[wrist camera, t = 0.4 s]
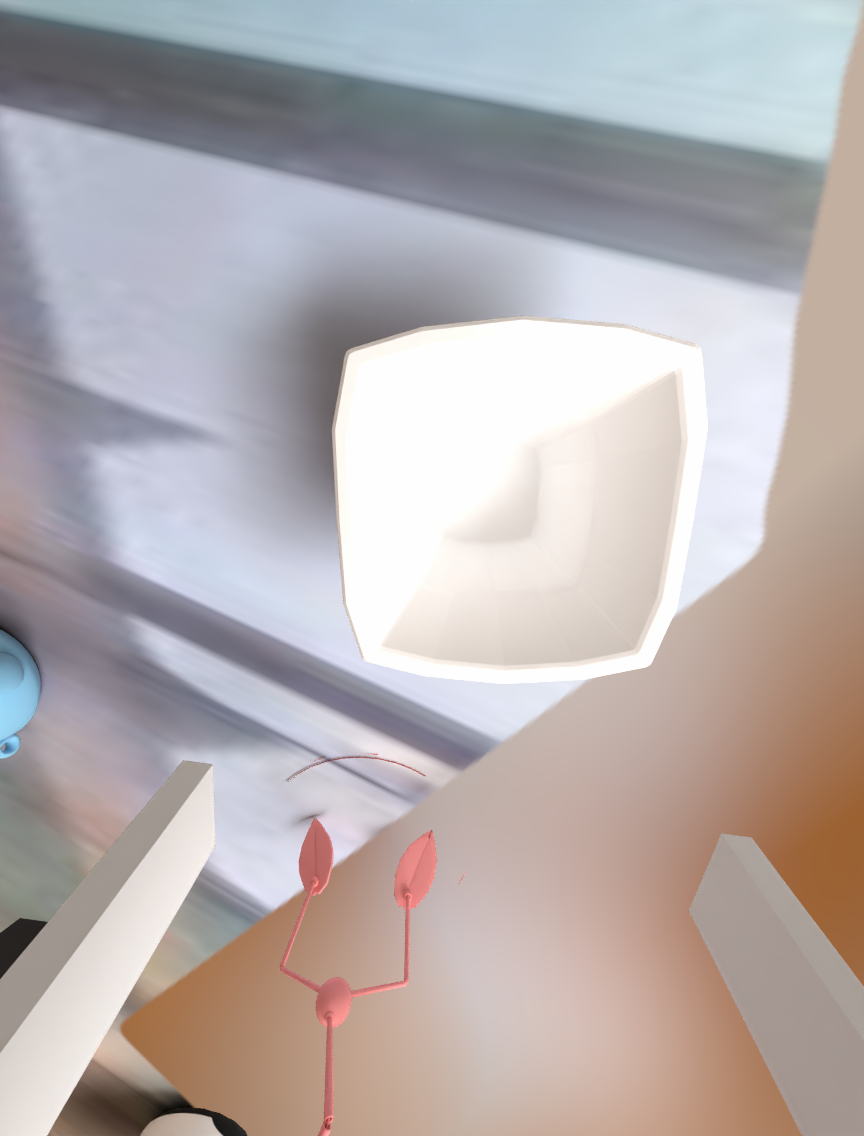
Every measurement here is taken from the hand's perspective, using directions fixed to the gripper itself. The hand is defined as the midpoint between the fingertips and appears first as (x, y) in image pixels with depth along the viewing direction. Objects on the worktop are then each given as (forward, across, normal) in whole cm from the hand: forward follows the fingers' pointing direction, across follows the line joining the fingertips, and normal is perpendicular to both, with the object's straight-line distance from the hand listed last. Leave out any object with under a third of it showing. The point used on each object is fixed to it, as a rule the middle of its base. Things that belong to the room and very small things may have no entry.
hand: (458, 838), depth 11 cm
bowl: (+28, +2, +6) cm, 28 cm away
